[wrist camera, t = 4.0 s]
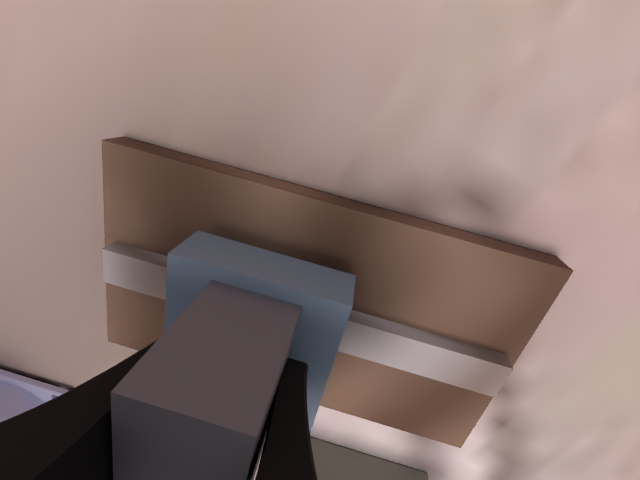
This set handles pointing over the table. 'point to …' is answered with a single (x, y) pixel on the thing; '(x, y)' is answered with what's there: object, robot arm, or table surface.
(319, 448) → the cabinet
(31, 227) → the table surface
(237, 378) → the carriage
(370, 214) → the rail
